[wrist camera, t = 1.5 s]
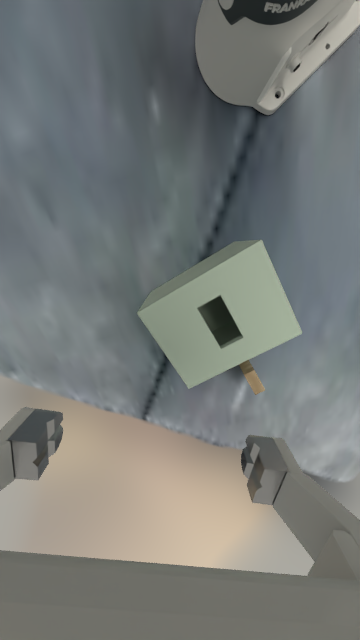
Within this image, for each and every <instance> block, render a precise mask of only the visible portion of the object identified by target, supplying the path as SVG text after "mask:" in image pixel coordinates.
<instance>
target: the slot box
mask: <svg viewBox="0 0 360 640" xmlns="http://www.w3.org/2000/svg"><path fill="white" fill-rule="evenodd" d="M137 314H138V316H139V317H140V318H141V320H142V321H143V323H144V324H145V326H146V327H147V329H148V330H149V332H150V333H151V334H152V336H153V337H154V339H155V340H156V342H157V343H158V345H159V346H160V348H161V349H162V350H163V352H164V353H165V355H166V356H167V358H168V359H169V361H170V362H171V364H172V365H173V366H174V368H175V369H176V371H177V372H178V374H179V375H180V377H181V378H182V380H183V381H184V382H185V384H186V385H187V387H188V388H189V389H190V388H192V387H194V386H196V385H198V384H200V383H202V382H204V381H206V380H208V379H210V378H212V377H214V376H216V375H218V374H220V373H222V372H224V371H226V370H228V369H230V368H233V367H235V366H237V365H239V364H241V363H243V362H245V361H247V360H249V359H251V358H253V357H255V356H257V355H259V354H261V353H263V352H265V351H267V350H269V349H271V348H273V347H276V346H278V345H280V344H282V343H284V342H286V341H288V340H290V339H292V338H294V337H296V336H298V335H300V334H302V331H301V329H300V326H299V324H298V322H297V320H296V317H295V315H294V313H293V310H292V308H291V306H290V304H289V301H288V299H287V297H286V294H285V292H284V290H283V288H282V285H281V283H280V281H279V278H278V276H277V274H276V272H275V269H274V267H273V265H272V262H271V260H270V258H269V256H268V253H267V251H266V249H265V246H264V244H263V242H262V240H251V241H237V242H233V243H231V244H230V245H228V246H226V247H225V248H223V249H221V250H220V251H218V252H216V253H215V254H213V255H211V256H210V257H208V258H206V259H205V260H203V261H201V262H200V263H198V264H196V265H195V266H193V267H191V268H190V269H188V270H186V271H185V272H183V273H181V274H180V275H178V276H176V277H175V278H173V279H171V280H170V281H168V282H166V283H164V284H163V285H161V286H159V287H158V288H156V289H154V290H153V291H151V292H150V294H149V295H148V297H147V298H146V300H145V301H144V303H143V304H142V306H141V307H140V309H139V310H138V312H137Z"/></svg>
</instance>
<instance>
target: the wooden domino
mask: <svg viewBox="0 0 360 640" xmlns="http://www.w3.org/2000/svg"><path fill="white" fill-rule="evenodd" d="M239 365H240V368H241V370H242V372H243V374H244V376H245V377H246V379H247V381H248V383H249V384H250V386H251V388H252V390H253V391H254V393H255V395H256V394H258V393H260V392H263V391H265V389H264V387H263V385H262V383H261V381H260V380H259V378H258V376H257V374H256V372H255V371H254V369H253V367H252V365H251V364H250V362H249V360H247V361H245V362H243V363H241V364H239Z"/></svg>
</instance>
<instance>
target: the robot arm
mask: <svg viewBox="0 0 360 640" xmlns="http://www.w3.org/2000/svg"><path fill="white" fill-rule="evenodd" d="M359 25H360V0H357V1H356V0H203V2H202V6H201V9H200V12H199V15H198V20H197V25H196V33H195V49H196V57H197V62H198V66H199V69H200V71H201V74H202V76H203V78H204V80H205V82H206V84H207V85H208V87H209V88H210V89H211V90H212V91H213V93H214V94H216V95H217V96H218V97H219V98H221V99H222V100H224V101H226V102H228V103H231V104H234V105H243V106H251V107H253V108H255V109H256V110H258V111H259V112H261V113H263V114H265V115H271V114H273V113H274V112H275V111H276V110H277V109H278V108H279V107H280V106H281V105H282V104H283V103H284V102H285V101H286V100H287V99H288V98H289V97H290V96H291V95H292V94H293V93H294V92H295V91H296V90H297V89H298V88H299V87H300V86H301V85H302V84H303V83H304V82H305V81H306V80H307V79H308V78H309V77H310V76H311V75H312V74H313V73H314V72H315V71H316V70H317V69H318V68H319V67H320V66H321V65H322V64H323V63H324V62H325V61H326V60H327V59H328V58H329V57H330V56H331V55H332V54H333V53H334V52H335V51H336V50H337V49H338V48H339V47H340V46H341V45H342V44H343V43H344V42H345V41H346V40H347V39H348V38H349V37H350V36H351V35H352V34H353V33H354V32H355V31H356V29H357V28H358V26H359ZM275 94H277V95H278V96H279V98H278V99H277V98H276V97H275ZM62 420H63V414H62V413H61V412H56V411H49V410H42V409H33V408H27V407H25V408H22V409H21V410H20V411H19V412H18V413H17V414H16V415H15V416H14V417H13V418H12V419H11V420H10V421H9V422H8V423H7V424H6V425H5V426H4V427H3V428H2V429H1V430H0V491H1V490H2V489H3V488H5V487H6V486H7V485H8V484H10V483H11V482H12V481H14V479H27V480H39V478H40V477H41V475H42V473H43V472H44V470H45V468H46V467H47V465H48V464H49V463H48V462H49V461H48V457H50V456H51V455H53V454H54V453H55V452H56V450H57V448H58V447H59V444H60V442H61V439H62V434H63V428H62V426H61V425H60V423H61V421H62ZM245 442H246V445H247V447H245V448H244V449H243V451H242V454H241V465H242V470H243V474H244V475H245V476H246V477H247V478H248V479H249V480H248V483H247V487H248V490H249V493H250V497H251V500H252V502H253V503H261V504H268V505H273V508H274V509H275V510H276V511H277V513H278V514H279V515H280V517H281V518H282V519H283V521H284V522H285V523H286V525H287V526H288V527H289V528H290V530H291V531H292V533H293V534H294V535H295V536H296V538H297V539H298V540H299V542H300V543H301V544H302V545H303V547H304V548H305V550H306V551H307V552H308V553H309V555H310V556H311V557H312V559H313V560H314V561H315V563H314V564H313V566H312V568H311V570H310V571H309V573H308V576H301V575H288V574H276V573H264V572H253V571H241V570H228V569H217V568H205V567H193V566H182V565H169V564H157V563H146V562H134V561H122V560H109V559H98V558H86V557H73V556H61V555H50V554H37V553H26V552H14V551H1V550H0V640H360V520H359V519H358V518H357V517H355V516H354V515H353V514H352V513H351V512H349V510H347V509H346V508H345V507H344V506H343V505H342V504H341V503H339V502H338V501H337V500H336V499H335V498H333V497H332V496H331V495H330V494H329V493H328V492H327V491H325V490H324V489H323V488H322V487H321V486H320V485H318V484H317V483H316V482H315V481H314V480H313V479H312V478H310V477H309V476H308V475H306V474H303V472H302V471H301V469H300V467H299V465H298V464H297V462H296V460H295V458H294V457H293V455H292V453H291V451H290V450H289V448H288V446H287V444H286V443H285V441H284V440H283V439H282V438H272V437H271V438H270V437H263V436H254V435H248V437H247V439H246V441H245Z"/></svg>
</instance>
